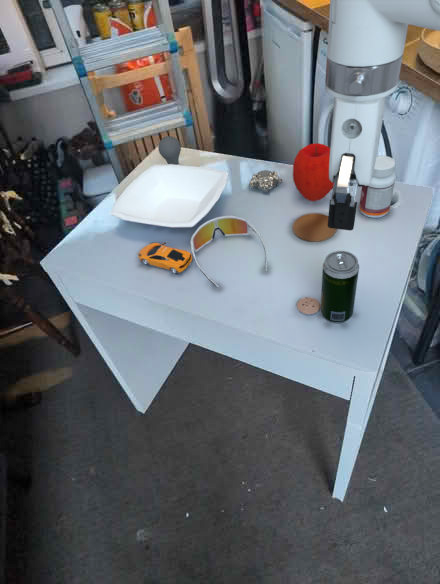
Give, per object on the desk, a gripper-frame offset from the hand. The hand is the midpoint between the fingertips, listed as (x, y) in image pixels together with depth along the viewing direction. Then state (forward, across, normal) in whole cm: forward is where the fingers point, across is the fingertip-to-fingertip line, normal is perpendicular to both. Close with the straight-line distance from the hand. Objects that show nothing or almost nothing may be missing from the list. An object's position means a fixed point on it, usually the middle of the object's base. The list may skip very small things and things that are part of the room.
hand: (346, 205), depth 58 cm
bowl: (+23, +22, +40) cm, 51 cm away
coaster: (+22, +22, +8) cm, 32 cm away
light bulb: (+23, +38, +47) cm, 64 cm away
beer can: (+22, 0, 0) cm, 22 cm away
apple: (+23, +33, +10) cm, 41 cm away
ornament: (+23, +35, +22) cm, 47 cm away
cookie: (+22, 0, +4) cm, 23 cm away
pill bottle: (+22, +30, -3) cm, 37 cm away
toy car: (+23, +6, +35) cm, 42 cm away
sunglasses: (+23, +10, +22) cm, 33 cm away
